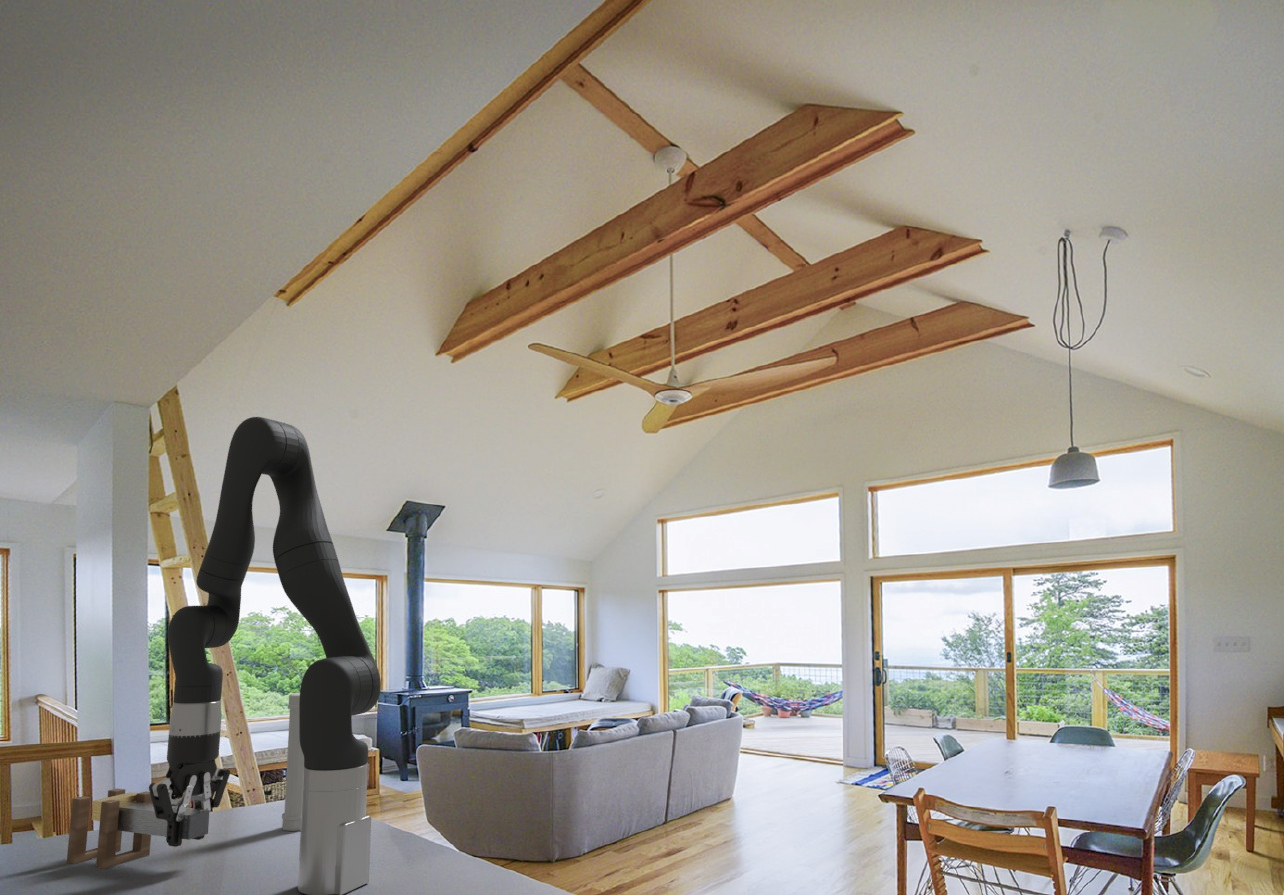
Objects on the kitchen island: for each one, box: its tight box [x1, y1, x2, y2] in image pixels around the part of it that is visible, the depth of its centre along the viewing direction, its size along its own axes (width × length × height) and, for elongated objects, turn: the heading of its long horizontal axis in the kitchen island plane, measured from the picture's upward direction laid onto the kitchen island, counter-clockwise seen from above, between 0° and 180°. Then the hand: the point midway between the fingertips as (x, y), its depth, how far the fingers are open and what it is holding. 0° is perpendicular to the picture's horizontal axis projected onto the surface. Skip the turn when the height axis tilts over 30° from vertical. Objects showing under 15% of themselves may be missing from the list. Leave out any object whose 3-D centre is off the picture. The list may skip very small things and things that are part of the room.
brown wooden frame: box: [66, 788, 153, 869], centre depth 146 cm, size 9×8×10 cm
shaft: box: [117, 802, 210, 841], centre depth 142 cm, size 18×4×4 cm, turn 68°
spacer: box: [91, 791, 138, 822], centre depth 146 cm, size 3×7×3 cm, turn 158°
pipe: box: [281, 662, 304, 832], centre depth 165 cm, size 6×6×30 cm
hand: (186, 841), depth 139 cm, fingers closed on shaft, 3 cm apart
